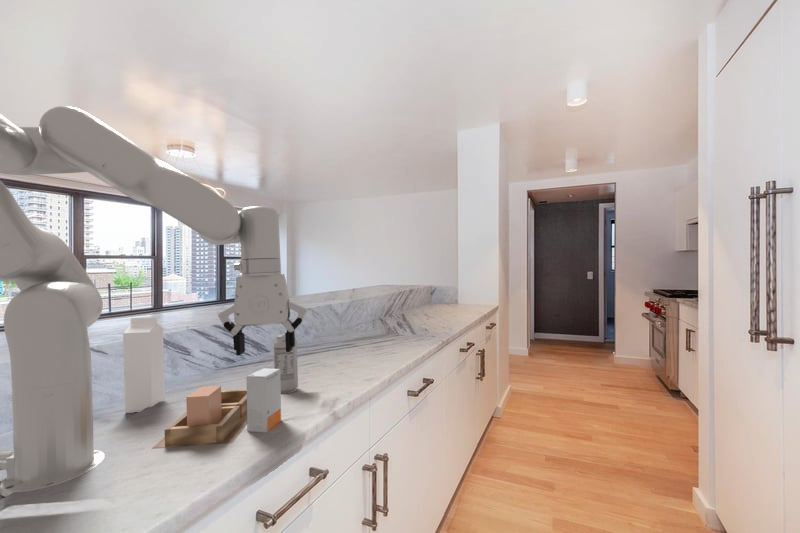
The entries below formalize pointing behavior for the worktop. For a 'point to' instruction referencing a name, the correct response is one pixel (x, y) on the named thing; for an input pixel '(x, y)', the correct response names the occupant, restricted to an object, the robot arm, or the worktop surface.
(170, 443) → the socket board
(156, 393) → the milk
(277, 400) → the skincare box
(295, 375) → the energy drink can
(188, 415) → the terracotta block
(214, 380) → the worktop surface
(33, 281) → the robot arm
